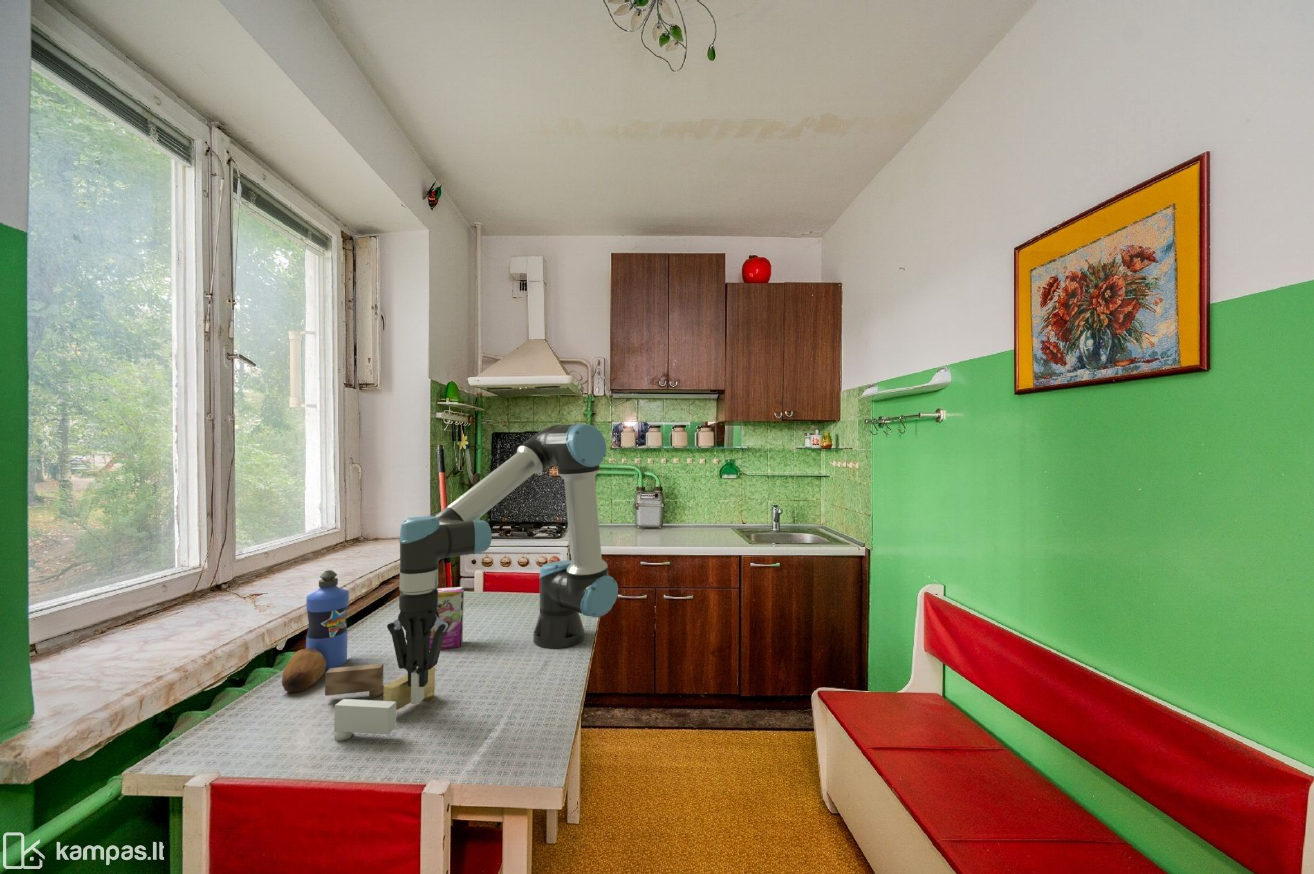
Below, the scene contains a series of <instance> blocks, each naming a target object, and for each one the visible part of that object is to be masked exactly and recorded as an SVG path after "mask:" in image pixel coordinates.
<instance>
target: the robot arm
mask: <svg viewBox="0 0 1314 874" xmlns="http://www.w3.org/2000/svg"><path fill="white" fill-rule="evenodd" d="M606 455H607V442H606V439H605V436H604V435H603V433H602V432H601V431H600V430H599V429H598V427H596V426H594V425H592V424H589V423H588V424H587V423H579V422H578V423H571V424H554V425H549V426H547V427H545V428H544V429H541V430H540V431H539V432H537V433H535V434H534V435H533V436H531V437H530V438H529V439H527V440H526V441H525V442H523V443H522V444H521V445H519V446H518V447H517V449H516V453H515V454H514V455H512V456H511V457H510V458H508V459H507V460H505V462H503V463H502V464H501V465H500V466H498V467H496V468H495V469H493V471H491V472H490V473H489V474H488V475H486V476H485V477H484V478H482V479H481V480H479V481H478V482H477V483H476V484H475V485H473V486H472V487H471V488H470V489H468V490H467V491H466V492H465V493H463V494H462V495H460V496H459V497H458V498H456V499H455V500H454V501H452V503H450V504H449V505H447V506H445V507H444V509H442V510H440V512H438V513H437V514H431V515H425V516H414V517H408V518H405V519H403V521H402V522H401V524H400V531H399V532H400V533H399V534H400V535H399V562H400V563H399V583H398V585H399V587H398V588H399V589H398V590H399V591H400V593H399V595H398V596H399V598H398V602H399V604H398V607H399V608H398V609H399V614H398V615H397V619H395V620H393V621H391V622H390V623H388V624H387V625H386V627H387V630H388V631H389V633H390V635H391V638H392V643H393V648H394V652H395V657H396V662H397V666H398V668H399V670H403V669H404V670H406V672H407V675H408V687H411V703H410V705H419V704H420V703H421V702H423V701H422V700H423V699H424V686H425V685H426V684H427V683H428V670H430V669H431V668H433V667H435V666H437V664H438V661H439V657H440V654H441V650H442V649H441V646H442V642H443V638H444V634H445V631H446V630H447V628H448V627H449V625H450V623H449V622H448V621H446V622H444V621H442V620H441V619H440V618H439V614H438V611H437V606H438V590H437V588H438V587H439V560H443V559H446V558H454V557H461V556H467V555H476V554H479V553H482V552H486V551H487V550H488V549H489V548H490V546H491V544H492V529H491V527H490V524H489V523H488V522H487V521H486V520H483V519H481V520H479V519H480V518H481V517H482V516H484V515H485V514H487V512H489V511H490V510H491V509H492V508H493V507H495V506H496V505H497V504H499V503H500V502H502V500H503V499H504V498H506V497H507V496H508V495H510V493H512V492H513V491H514V490H515V489H516V488H518V487H519V486H520V485H522V484H523V483H524V482H525V481H526V480H528V479H529V478H530V477H531V476H532V475H534V474H535V475H537V474H540V473H542V472H543V471H544V470H546V469H548V468H550V467H552V466H557V473H558V474H557V475H558V476H560V477H561V478H562V480H563V481H564V490H565V492H564V493H565V502H566V514H567V516H566V517H567V527H568V528H567V529H568V539H569V550H570V560H560V561H559V560H558V561H552V562H548V563H545V564H543V565H542V566H541V567H540V570H539V571H540V572H539V578H538V579H539V615H538V618H537V621H536V624H535V627H534V631H533V634H532V635H533V636H532V638H533V640H532V641H533V644H535V645H536V646H537V647H541V648H547V649H562V648H568V647H573V646H575V645H578V644H580V643H582V641H583V640H585V628H584V625H583V624H584V623H583V622H582V617H581V615H580V614H582V616H585V617H590V618H600V617H604V616H605V615H606V614H608V613H609V612H610V610H612V608H613V606H614V604H615V603H616V601H617V598H618V594H619V593H618V592H619V587H618V583H617V580H616V579H614V577H612V576H611V575H609V567H608V563H607V561H605V560H604V559H603V558H602V547H601V546H602V544H601V532H600V524H599V523H600V522H599V510H598V509H599V508H598V500H597V499H598V498H597V487H596V486H597V485H596V475H597V474H598V473H599V472H600V471H601V469H600V464H601V463H602V462H604V460H605V458H604V457H606ZM434 625H436V626H435V631H436V632H435V634H434V637H433V641H432V645H431V649H430V635H431V629H432V628H433V626H434Z"/></svg>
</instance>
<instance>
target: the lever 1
mask: <svg viewBox="0 0 1314 874" xmlns="http://www.w3.org/2000/svg"><path fill="white" fill-rule="evenodd" d="M324 677H325V683H324V684H325V685H324V687H325V688H324V693H325V694H324V695H325V696H326V697H328V696H335V695H338V696H339V695H345V694H355V693H364V692H365V693H366V692H368V697H369V698H370V699H378V698H381V697H383V696H384V686H385V685H384V662H383V663H375V664H373V663H372V664H361V665H353V666H341V667H340V666H338V667H335V668H330V669H329V670H328V671H327V672H326V673H325V676H324Z"/></svg>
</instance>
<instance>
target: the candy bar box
mask: <svg viewBox="0 0 1314 874" xmlns="http://www.w3.org/2000/svg"><path fill="white" fill-rule="evenodd" d="M436 589H437V590H438V606H437V611H438V614H439V618H440V619H441V620H442V621H444V622H446V621H448V622H449V623H450V625H449V627H448V628H447V630H446V631H445V634H444V638H443V642H442V646H441V650H445V649H452V648H455V649H456V648H461V647H462V644H463V641H464V639H463V637H464V601H465V600H464V598H465V587H464V586H457V587H456V586H455V587H442V588H438V587H436ZM435 626H436V625H434V626H433V628H432V629H431V635H430V649H431V645H432V641H433V637H434V634H435V632H436V631H435Z"/></svg>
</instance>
